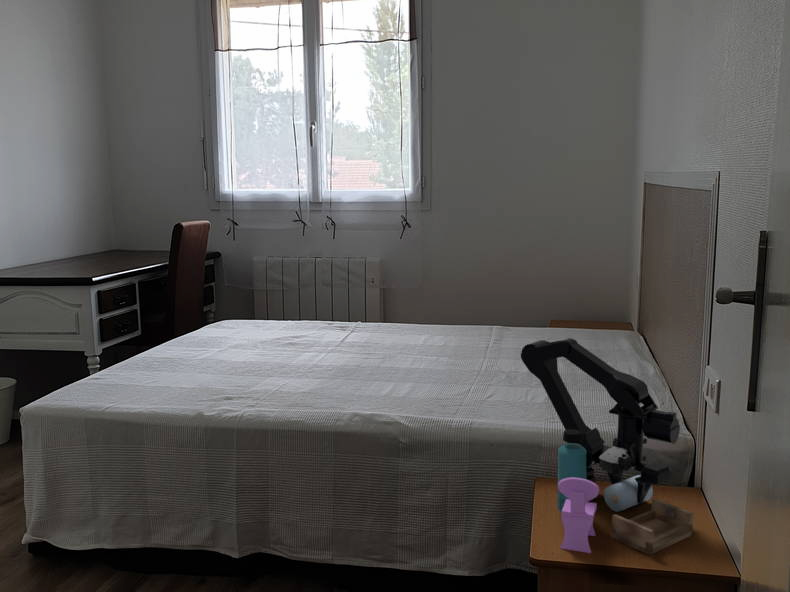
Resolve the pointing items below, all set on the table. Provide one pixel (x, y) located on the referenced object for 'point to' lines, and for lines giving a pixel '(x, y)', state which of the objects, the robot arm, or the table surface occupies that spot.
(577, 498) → the toy chair
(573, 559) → the table surface
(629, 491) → the roll
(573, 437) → the beverage bottle
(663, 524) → the holder
